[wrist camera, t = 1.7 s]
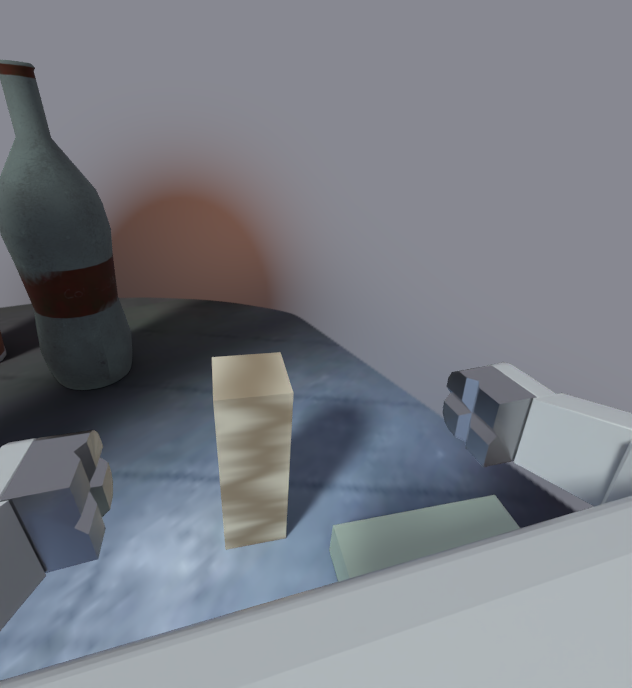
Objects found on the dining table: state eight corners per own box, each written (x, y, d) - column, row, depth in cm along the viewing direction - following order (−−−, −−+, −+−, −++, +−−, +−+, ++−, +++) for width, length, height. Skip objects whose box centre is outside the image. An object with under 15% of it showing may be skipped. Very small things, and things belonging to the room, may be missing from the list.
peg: (225, 549, 28) (213, 400, 21) (223, 498, 32) (211, 357, 25) (285, 538, 29) (293, 393, 22) (276, 489, 33) (280, 352, 26)
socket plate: (409, 830, 18) (423, 815, 16) (329, 550, 29) (333, 525, 27) (634, 737, 21) (663, 717, 19) (483, 518, 32) (494, 494, 30)
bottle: (49, 359, 47) (-51, 57, 32) (130, 343, 51) (75, 71, 36) (51, 403, 40) (-76, 47, 25) (143, 380, 45) (83, 66, 30)
